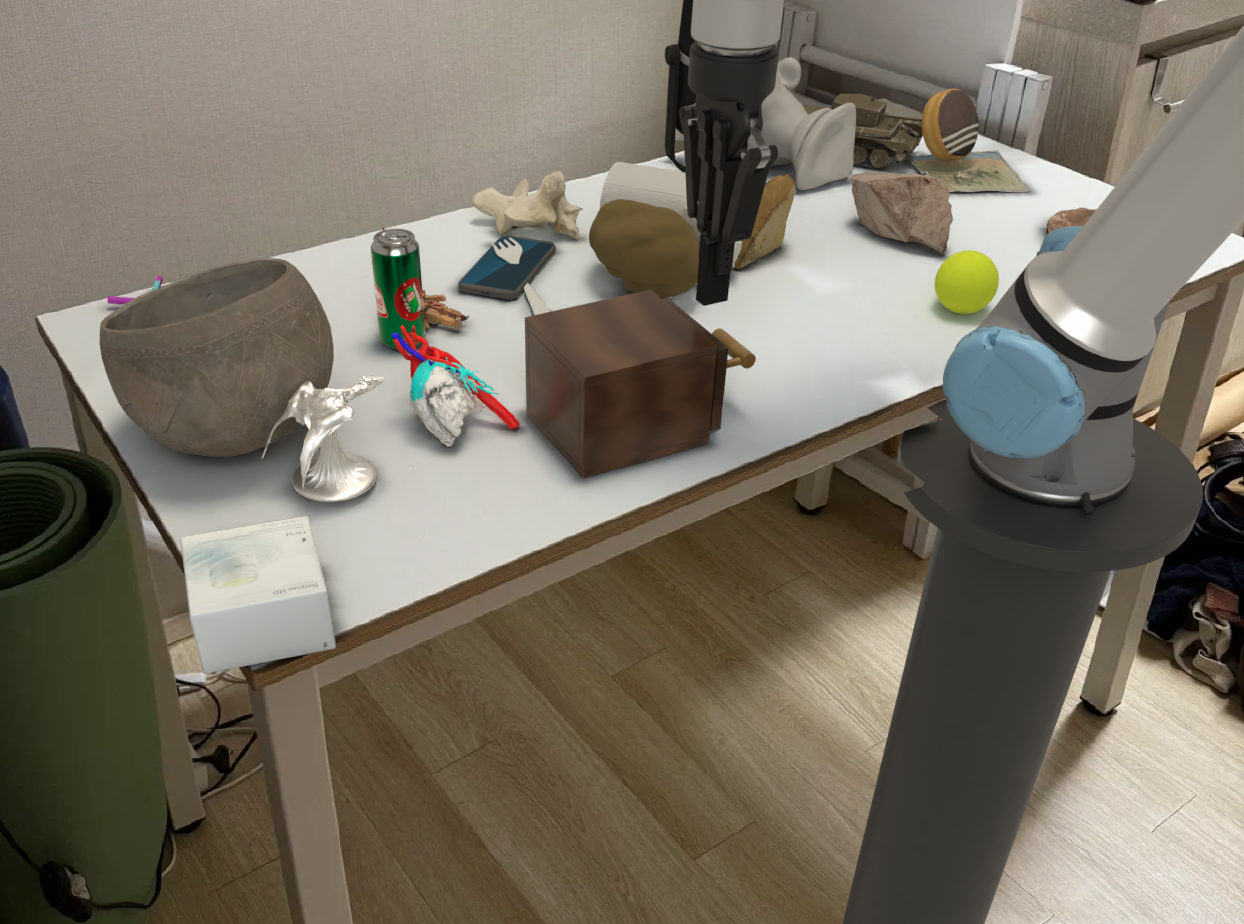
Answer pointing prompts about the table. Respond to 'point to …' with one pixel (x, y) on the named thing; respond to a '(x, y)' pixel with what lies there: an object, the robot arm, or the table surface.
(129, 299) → the squeegee
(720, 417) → the drawer
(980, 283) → the tennis ball
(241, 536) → the cosmetics box
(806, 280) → the table surface
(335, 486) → the figurine
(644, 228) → the decorative stone
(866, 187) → the stone
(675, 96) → the microphone
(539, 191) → the decorative object
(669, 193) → the cup
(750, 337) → the table surface
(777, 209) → the rock
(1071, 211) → the brown rocky slab
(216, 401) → the bowl
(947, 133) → the doughnut
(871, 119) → the toy tank
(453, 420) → the anatomical heart model
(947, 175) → the topographic map
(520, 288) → the smartphone
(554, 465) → the table surface
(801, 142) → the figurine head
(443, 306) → the armored character
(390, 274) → the soda can
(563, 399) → the cabinet
